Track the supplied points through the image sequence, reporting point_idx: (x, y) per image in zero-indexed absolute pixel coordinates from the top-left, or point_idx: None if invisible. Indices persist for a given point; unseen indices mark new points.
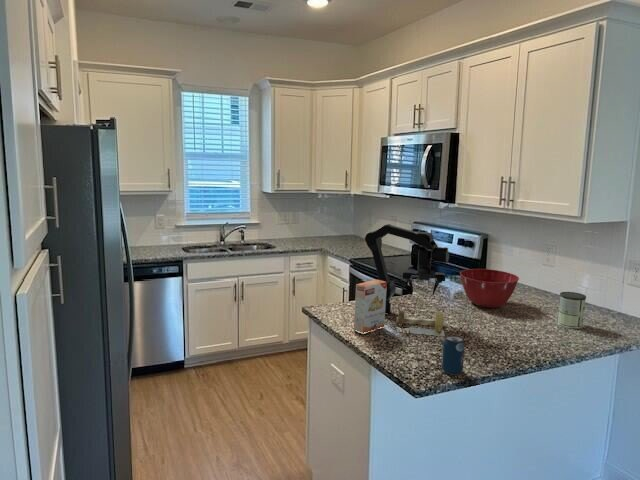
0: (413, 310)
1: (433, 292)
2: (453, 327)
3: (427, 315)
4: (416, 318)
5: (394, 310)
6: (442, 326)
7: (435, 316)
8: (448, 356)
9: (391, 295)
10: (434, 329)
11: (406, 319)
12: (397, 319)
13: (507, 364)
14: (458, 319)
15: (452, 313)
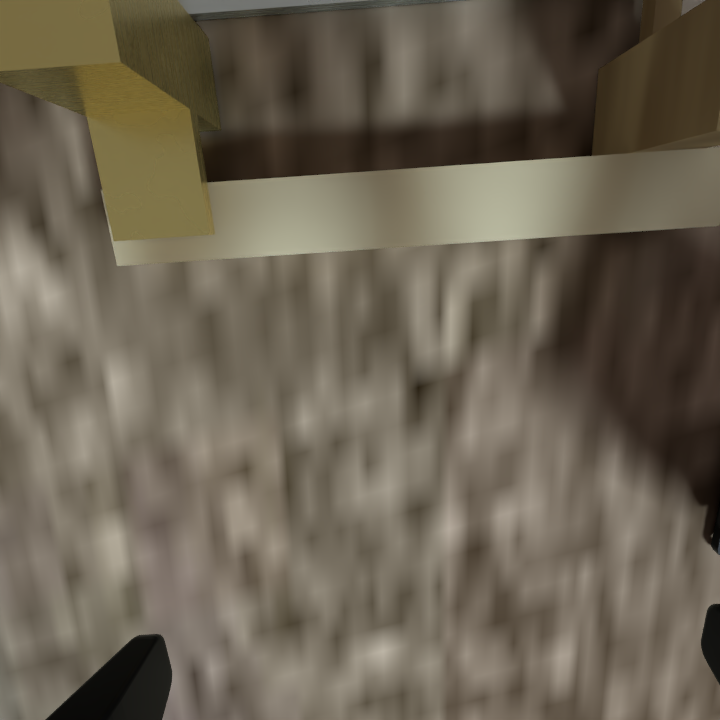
0: (465, 626)
1: (94, 699)
2: (19, 224)
3: (328, 529)
4: (454, 225)
5: (652, 580)
6: None
7: (143, 19)
8: None
9: None
10: (209, 7)
11: (589, 157)
12: (707, 148)
13: None
14: (22, 500)
15: (106, 643)
